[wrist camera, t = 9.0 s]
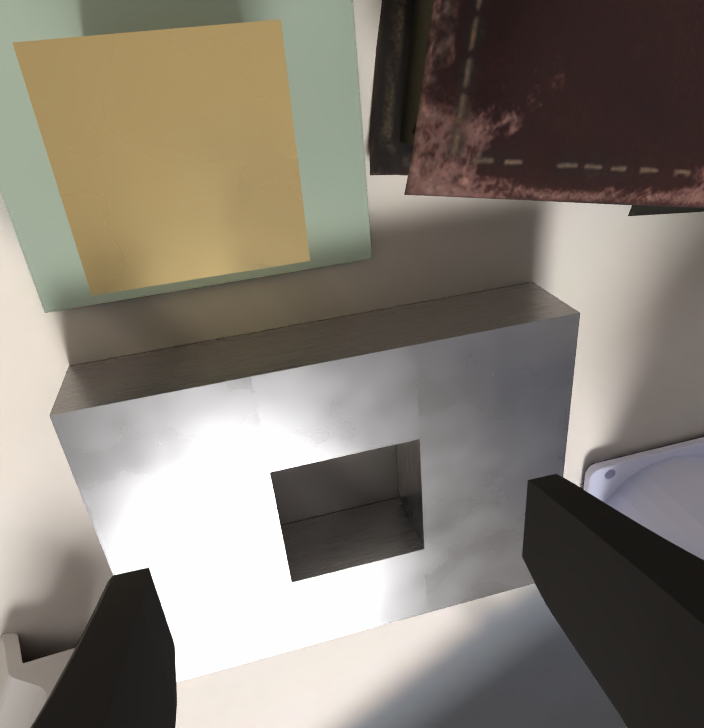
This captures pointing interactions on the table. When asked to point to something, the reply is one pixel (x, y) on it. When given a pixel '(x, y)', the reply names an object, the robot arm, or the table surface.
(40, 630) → the table surface
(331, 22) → the rubber mat
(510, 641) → the table surface
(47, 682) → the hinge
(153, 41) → the brass peg
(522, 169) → the diary
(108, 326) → the table surface
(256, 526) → the metal square hole block
